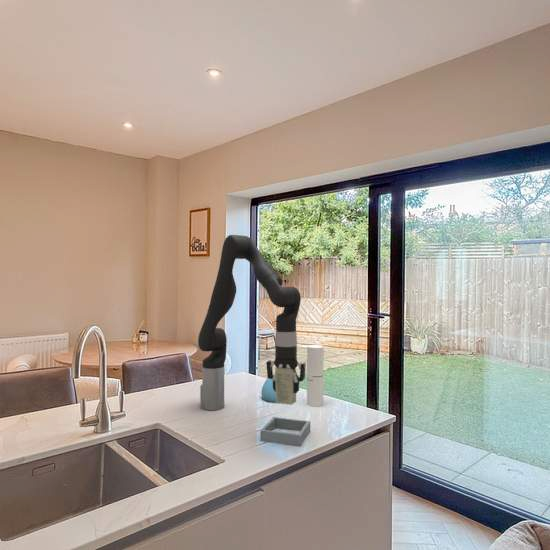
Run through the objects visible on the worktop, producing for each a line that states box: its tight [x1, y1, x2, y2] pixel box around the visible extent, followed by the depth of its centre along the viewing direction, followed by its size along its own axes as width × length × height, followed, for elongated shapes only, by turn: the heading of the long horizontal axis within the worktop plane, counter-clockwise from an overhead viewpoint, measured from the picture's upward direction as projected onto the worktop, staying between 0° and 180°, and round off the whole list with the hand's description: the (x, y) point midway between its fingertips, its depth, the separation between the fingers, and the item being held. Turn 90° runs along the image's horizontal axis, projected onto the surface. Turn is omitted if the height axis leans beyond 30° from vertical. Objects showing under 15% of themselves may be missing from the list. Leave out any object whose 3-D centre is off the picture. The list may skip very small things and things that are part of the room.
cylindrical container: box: [306, 344, 325, 407], centre depth 179 cm, size 7×7×25 cm
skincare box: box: [274, 367, 297, 406], centre depth 143 cm, size 6×4×12 cm
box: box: [259, 416, 311, 447], centre depth 143 cm, size 14×14×4 cm
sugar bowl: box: [260, 377, 276, 403], centre depth 187 cm, size 15×15×12 cm
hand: (285, 391), depth 143 cm, fingers closed on skincare box, 6 cm apart
